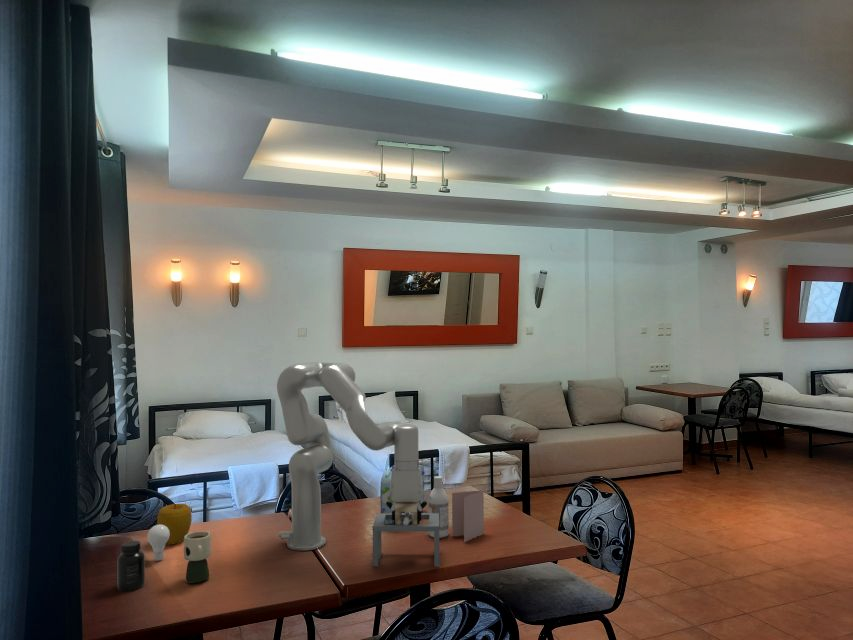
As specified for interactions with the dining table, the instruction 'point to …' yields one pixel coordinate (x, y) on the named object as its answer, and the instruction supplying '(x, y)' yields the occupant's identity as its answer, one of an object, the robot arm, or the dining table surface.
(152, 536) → the lightbulb
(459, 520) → the greeting card
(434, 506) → the bath foam
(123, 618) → the dining table surface
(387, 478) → the lunch box
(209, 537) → the character mug
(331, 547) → the dining table surface
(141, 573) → the supplement bottle
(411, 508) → the birch clip
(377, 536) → the shelf stand
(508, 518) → the dining table surface
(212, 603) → the dining table surface
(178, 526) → the apple
